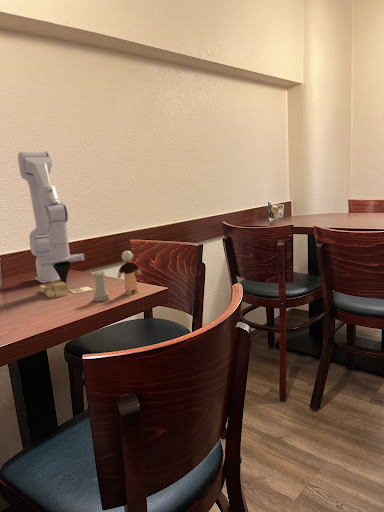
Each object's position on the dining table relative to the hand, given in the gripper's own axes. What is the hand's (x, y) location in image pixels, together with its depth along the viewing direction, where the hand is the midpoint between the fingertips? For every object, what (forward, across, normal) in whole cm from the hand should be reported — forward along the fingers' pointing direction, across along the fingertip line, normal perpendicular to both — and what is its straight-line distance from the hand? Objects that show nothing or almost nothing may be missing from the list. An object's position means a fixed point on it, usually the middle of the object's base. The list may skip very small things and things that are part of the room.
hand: (64, 285), depth 128 cm
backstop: (+1, -6, -2) cm, 6 cm away
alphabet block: (+1, -2, 0) cm, 3 cm away
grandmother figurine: (+2, +13, -20) cm, 24 cm away
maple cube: (+1, -3, -6) cm, 7 cm away
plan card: (+1, +3, -6) cm, 7 cm away
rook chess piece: (+2, +4, -20) cm, 21 cm away
